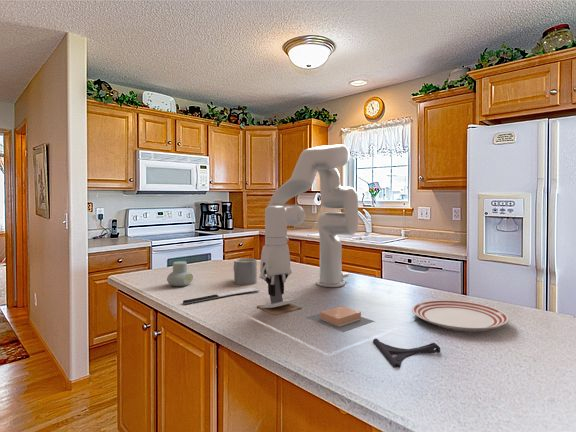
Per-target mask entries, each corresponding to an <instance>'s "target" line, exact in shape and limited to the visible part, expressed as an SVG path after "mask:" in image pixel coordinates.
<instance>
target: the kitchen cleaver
mask: <svg viewBox="0 0 576 432" xmlns="http://www.w3.org/2000/svg"><path fill="white" fill-rule="evenodd" d="M258 291H260V289H259V288H254V287H246V288H241V289H237V290H232V291H225V292H222V293H221V292H220V293H216V294H209V295H205V296H200V297H196V298H190V299H184V300H182V304H183V305H187V304H188V305H191V304H192V303H193V304H197V303H203V302H208V301H212V300H218V299H219V298H222V297H227V296H233V295H238V294H245V293H246V294H247V293H252V292H258Z"/></svg>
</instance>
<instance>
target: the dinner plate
mask: <svg viewBox="0 0 576 432" xmlns="http://www.w3.org/2000/svg"><path fill="white" fill-rule="evenodd" d="M411 311H412V313H413V314H414V315H415V316H416V317H417V318H420V319H421V320H423V321H425V322H426V323H427V322H428V323H430V324H432V325H436V326H437V325H438V326H437V327H440V326H441V328H443V327H444V328H443V329H447V328H448V330H451V329H453V331H457V330H458V332H473V333H474V332H482V331H489V330H494V329H497V328H501V327H503V326H505V325H506V324H508V323H509V322H510V316H509V315H508V314H507V313H505V312H504V311H502V310H501V309H498V308H496V307H492V306H490V305H486V304H481V303H479V302H473V301H472V302H471V301H464V300H453V299H435V300H433V299H431V300H427V301H421V302H418V303H416V304H414V305H413V306H412V307H411Z"/></svg>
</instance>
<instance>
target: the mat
mask: <svg viewBox="0 0 576 432" xmlns="http://www.w3.org/2000/svg"><path fill="white" fill-rule="evenodd" d="M307 318H308V319H309V320H312V321H315V322H316V323H319V324H322V325H325V326H327V327H330V328H332V329H335V330H337V331H340V332H341V333H345V332H348V331H350V330H355V329H357V328H360V327H363V326H365V325H368V324H371V323H374V322H375V320H373V319H370V318H366V317H364V316H361V318H360V320H357V321H354V322H351V323H348V324H345V325H342V326H337V325H334V324H332V323H329V322H326V321H324V320H321V319H320V312H319V313H315V314H312V315H310V316H309V315H308V316H306V319H307Z"/></svg>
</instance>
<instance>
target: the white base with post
mask: <svg viewBox="0 0 576 432" xmlns="http://www.w3.org/2000/svg"><path fill="white" fill-rule="evenodd" d="M265 276H267V274H266V275H265ZM270 279H271V277H270ZM274 285H275V296H271V295H269V299H270V302H268V303H269V304H267V303H264V304H265V305H263V304H262V305H263V308H273V307H277V306H281V305H286V304H290V303H291V304H294V303H297V298H291V299H283V294H282V293H281V287H280V280H279V275H275V276H274Z"/></svg>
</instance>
